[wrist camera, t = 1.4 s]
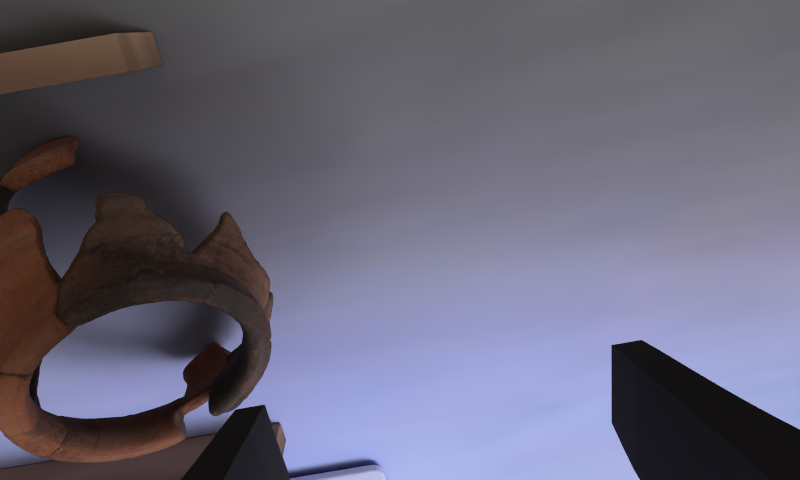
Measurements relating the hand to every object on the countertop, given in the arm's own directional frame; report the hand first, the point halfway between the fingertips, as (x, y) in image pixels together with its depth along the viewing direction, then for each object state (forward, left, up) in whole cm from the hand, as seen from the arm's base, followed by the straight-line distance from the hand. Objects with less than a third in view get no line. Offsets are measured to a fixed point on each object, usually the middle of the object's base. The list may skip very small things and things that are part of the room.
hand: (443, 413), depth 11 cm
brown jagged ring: (+1, +11, -10) cm, 15 cm away
